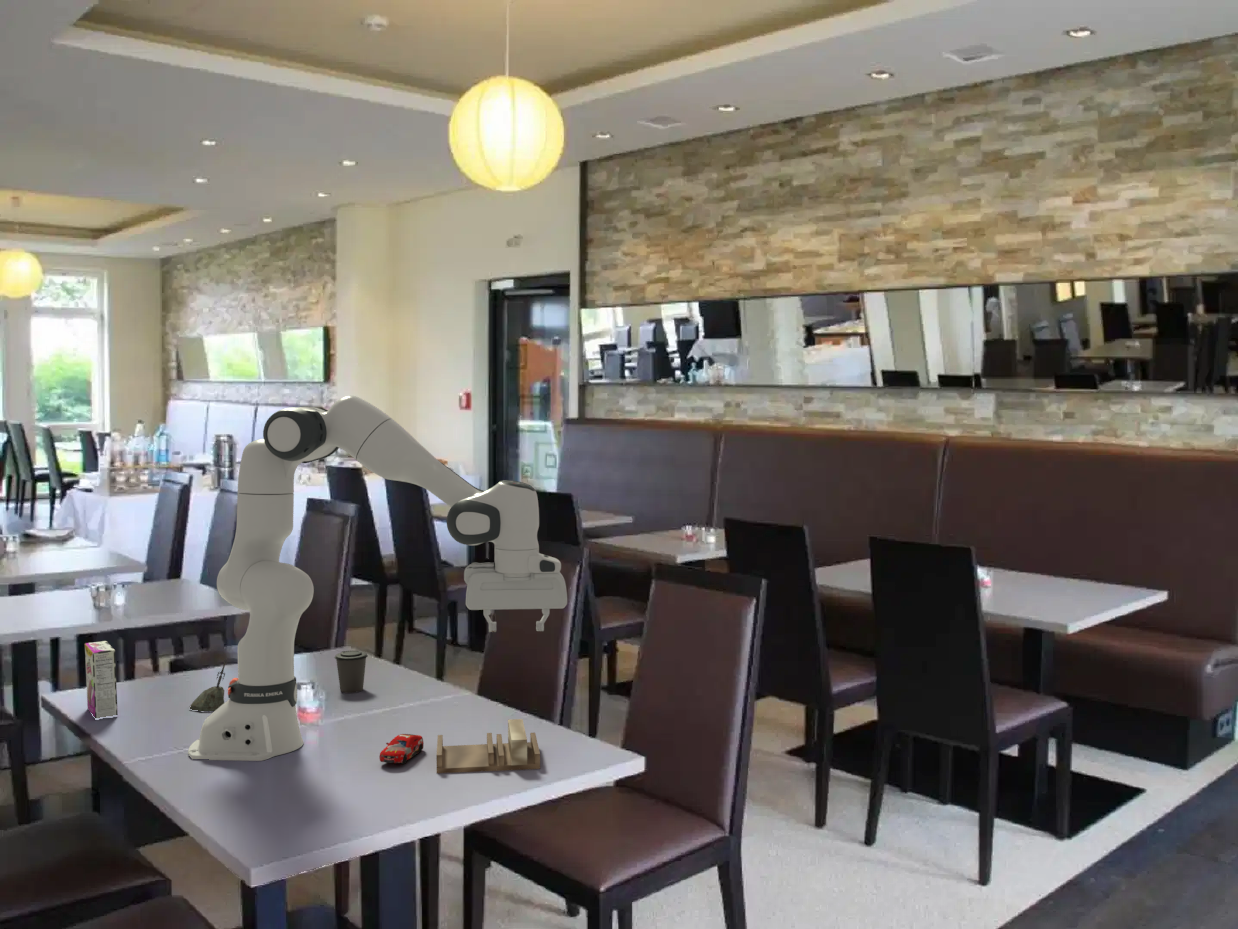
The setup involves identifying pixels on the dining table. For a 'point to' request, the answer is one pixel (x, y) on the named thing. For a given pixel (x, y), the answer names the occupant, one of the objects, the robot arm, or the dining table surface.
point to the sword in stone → (210, 697)
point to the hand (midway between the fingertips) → (516, 631)
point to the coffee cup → (351, 670)
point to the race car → (402, 748)
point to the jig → (483, 756)
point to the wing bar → (517, 742)
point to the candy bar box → (101, 679)
